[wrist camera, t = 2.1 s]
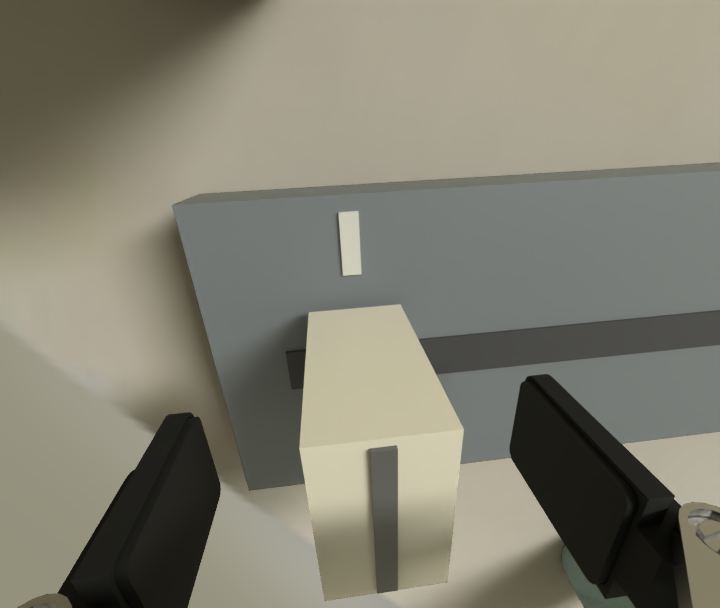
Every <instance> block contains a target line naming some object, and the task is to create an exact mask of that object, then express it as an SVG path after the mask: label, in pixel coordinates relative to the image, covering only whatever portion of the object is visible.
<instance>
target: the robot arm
mask: <svg viewBox="0 0 720 608" xmlns="http://www.w3.org/2000/svg"><path fill="white" fill-rule="evenodd" d="M509 450H510V455H511V458H512V460H513V462H514V463H515V465H516V467H517V468H518V470H519V472H520V473H521V475H522V476H523V478H524V480H525V481H526V483H527V484H528V486H529V488H530V489H531V491H532V492H533V494H534V496H535V497H536V499H537V500H538V502H539V504H540V505H541V507H542V508H543V510H544V512H545V513H546V515H547V516H548V518H549V520H550V521H551V523H552V524H553V526H554V528H555V529H556V531H557V533H558V534H559V536H560V537H561V539H562V541H563V542H564V544H565V545H566V547H567V549H568V550H569V552H570V553H571V555H572V557H573V558H574V560H575V561H576V563H577V565H578V566H579V568H580V569H581V571H582V573H583V574H584V576H585V577H586V579H587V580H588V581H589V582H590V583H592V584H596V586H597V587H598V589H599V590H600V592H601V593H602V595H603V597H604V598H605V599H610V598H616V597H622V596H628V598H629V599H630V601H631V602H632V604H633V605H634V606H635V608H720V508H719V507H717V506H713V505H710V504H706V503H698V502H691V503H687V504H684V505H683V506H681V505H679V504H678V503H677V502H676V501H675V500H674V497H675V496H674V495H673V494H672V493H671V492H670V491H669V490H668V489H667V488H666V487H665V486H664V485H663V484H662V483H661V482H660V481H659V480H658V479H657V478H656V477H655V476H654V475H653V474H652V473H651V472H650V471H649V470H648V469H647V468H646V467H645V466H644V465H643V464H642V463H640V462H639V461H638V460H637V459H636V458H635V457H634V456H633V455H632V454H631V453H630V452H629V451H628V450H627V449H626V448H625V447H624V446H623V445H622V444H621V443H620V442H619V441H618V440H617V439H616V438H615V437H614V436H613V435H612V434H611V433H610V432H609V431H608V430H606V429H605V428H604V427H603V426H602V425H601V424H600V423H599V422H598V421H597V420H596V419H595V418H594V417H593V416H592V415H591V414H590V413H589V412H588V411H587V410H586V409H585V408H584V407H583V406H582V405H581V404H580V403H579V402H578V401H577V400H576V399H575V398H573V397H572V396H571V395H570V394H569V393H568V392H567V391H566V390H565V389H564V388H563V387H562V386H561V385H560V384H559V383H558V382H557V381H556V380H555V379H554V378H553V377H552V376H550V375H549V374H542V375H532V376H527V378H526V379H525V381H524V382H522V383H521V385H520V390H519V396H518V401H517V407H516V413H515V418H514V424H513V430H512V435H511V441H510V447H509ZM219 497H220V482H219V478H218V475H217V472H216V469H215V465H214V462H213V459H212V456H211V452H210V449H209V446H208V443H207V439H206V436H205V433H204V430H203V426H202V423H201V420H200V418H199V417H194V416H193V414H192V413H190V412H188V413H179V414H169V415H168V416H166V418H165V419H164V421H163V423H162V424H161V426H160V428H159V429H158V431H157V433H156V435H155V436H154V438H153V440H152V441H151V443H150V445H149V447H148V448H147V450H146V452H145V453H144V455H143V457H142V459H141V460H140V462H139V464H138V466H137V467H136V469H135V470H133V471H132V472H131V473H130V474H129V475H128V476H127V478H126V479H125V481H124V482H123V484H122V486H121V487H120V489H119V491H118V493H117V494H116V496H115V498H114V499H113V501H112V503H111V504H110V506H109V508H108V509H107V511H106V513H105V515H104V516H103V518H102V520H101V521H100V523H99V524H98V526H97V528H96V529H95V531H94V533H93V535H92V537H91V538H90V540H89V541H88V543H87V545H86V546H85V548H84V550H83V551H82V553H81V555H80V556H79V558H78V560H77V561H76V563H75V565H74V566H73V568H72V570H71V571H70V573H69V575H68V577H67V578H66V580H65V582H64V583H63V585H62V587H61V588H60V590H59V592H58V593H57V594H46V595H43V596H40V597H37V598H34V599H32V600H30V601H28V602H26V603H25V604H23V605H21V606H19V607H18V608H187V607H188V604H189V600H190V597H191V594H192V590H193V587H194V583H195V580H196V576H197V573H198V570H199V566H200V563H201V559H202V556H203V552H204V549H205V546H206V542H207V539H208V535H209V531H210V528H211V525H212V521H213V518H214V515H215V511H216V508H217V504H218V501H219Z"/></svg>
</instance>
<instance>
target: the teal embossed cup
mask: <svg viewBox="0 0 720 608" xmlns="http://www.w3.org/2000/svg"><path fill="white" fill-rule="evenodd" d="M562 565H563V569H564V571H565V573H566V575H567V577H568V579H569V581H570V583H571V585H572V586H573V588H574V590H575V591H576V593H577V596H578V598H579V600H580V601H581V603H582V605H583V607H584V608H635V606H634V605H633V604H632V602H631V601H630V599H629V598H628V596H622V597H616V598H610V599H605V598H604V597H603V595H602V593H601V592H600V590H599V589H598V587H597V586H596V584H592V583H590V582H589V581H588V580H587V579H586V577H585V576H584V574H583V573H582V571H581V569H580V568H579V566H578V565H577V563H576V561H575V560H574V558H573V557H572V555H571V553H570V552H569V550H568V549H567V547H566V546H565V547H563V551H562Z"/></svg>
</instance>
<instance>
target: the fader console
mask: <svg viewBox="0 0 720 608" xmlns="http://www.w3.org/2000/svg"><path fill="white" fill-rule="evenodd" d="M172 208H173V211H174V215H175V219H176V222H177V226H178V230H179V233H180V237H181V241H182V244H183V248H184V252H185V256H186V259H187V263H188V267H189V270H190V274H191V278H192V281H193V285H194V289H195V292H196V296H197V300H198V304H199V307H200V311H201V315H202V318H203V322H204V326H205V329H206V333H207V337H208V340H209V344H210V348H211V351H212V355H213V359H214V363H215V366H216V370H217V374H218V377H219V381H220V385H221V388H222V392H223V396H224V399H225V403H226V407H227V411H228V414H229V418H230V422H231V425H232V429H233V433H234V436H235V440H236V444H237V447H238V451H239V455H240V459H241V462H242V466H243V470H244V473H245V477H246V481H247V484H248V488H249V491H250V490H257V489H265V488H273V487H281V486H289V485H297V484H305V480H304V474H303V468H302V462H301V456H300V450H299V446H300V431H301V417H302V402H303V388H304V373H305V358H306V344H307V329H308V315H309V312H318V311H329V310H341V309H352V308H363V307H375V306H386V305H398V304H401V306H402V308H403V310H404V312H405V314H406V316H407V318H408V320H409V322H410V324H411V326H412V328H413V330H414V332H415V334H416V336H417V338H418V340H419V342H420V344H421V346H422V348H423V350H424V352H425V353H426V355H427V357H428V359H429V361H430V363H431V365H432V367H433V369H434V371H435V373H436V375H437V377H438V379H439V381H440V383H441V385H442V387H443V389H444V391H445V393H446V395H447V397H448V399H449V401H450V403H451V405H452V407H453V409H454V411H455V413H456V415H457V416H458V418H459V420H460V422H461V424H462V426H463V428H464V433H463V443H462V452H461V461H460V464H465V463H473V462H481V461H489V460H497V459H505V458H511V455H510V450H509V447H510V441H511V435H512V430H513V424H514V418H515V413H516V407H517V401H518V396H519V390H520V385H521V383H522V382H524V381H525V379H526V378H527V376H532V375H542V374H549V375H550V376H552V377H553V378H554V379H555V380H556V381H557V382H558V383H559V384H560V385H561V386H562V387H563V388H564V389H565V390H566V391H567V392H568V393H569V394H570V395H571V396H572V397H573V398H575V399H576V400H577V401H578V402H579V403H580V404H581V405H582V406H583V407H584V408H585V409H586V410H587V411H588V412H589V413H590V414H591V415H592V416H593V417H594V418H595V419H596V420H597V421H598V422H599V423H600V424H601V425H602V426H603V427H604V428H605V429H606V430H608V431H609V432H610V433H611V434H612V435H613V436H614V437H615V438H616V439H617V440H618V441H619V442H620V443H621V444H625V443H632V442H640V441H648V440H656V439H664V438H672V437H680V436H688V435H696V434H704V433H712V432H720V163H706V164H689V165H673V166H656V167H640V168H623V169H606V170H590V171H573V172H557V173H540V174H523V175H507V176H490V177H474V178H457V179H440V180H424V181H407V182H391V183H374V184H358V185H341V186H324V187H308V188H291V189H275V190H258V191H241V192H225V193H208V194H199V195H196V196H194V197H191V198H189V199H186V200H184V201H181V202H178V203H176V204H173V205H172Z"/></svg>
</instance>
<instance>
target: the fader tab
mask: <svg viewBox="0 0 720 608" xmlns="http://www.w3.org/2000/svg"><path fill="white" fill-rule="evenodd" d="M463 433H464V428H463V426H462V424H461V422H460V420H459V418H458V416H457V415H456V413H455V411H454V409H453V407H452V405H451V403H450V401H449V399H448V397H447V395H446V393H445V391H444V389H443V387H442V385H441V383H440V381H439V379H438V377H437V375H436V373H435V371H434V369H433V367H432V365H431V363H430V361H429V359H428V357H427V355H426V353H425V352H424V350H423V348H422V346H421V344H420V342H419V340H418V338H417V336H416V334H415V332H414V330H413V328H412V326H411V324H410V322H409V320H408V318H407V316H406V314H405V312H404V310H403V308H402V306H401V304H398V305H386V306H375V307H363V308H352V309H341V310H329V311H318V312H309V315H308V329H307V344H306V358H305V373H304V388H303V402H302V417H301V431H300V446H299V450H300V456H301V462H302V468H303V474H304V480H305V486H306V492H307V498H308V504H309V510H310V516H311V522H312V528H313V534H314V540H315V546H316V552H317V558H318V564H319V569H320V576H321V581H322V588H323V593H324V599H325V601H328V600H335V599H341V598H348V597H355V596H361V595H368V594H374V593H384V592H390V591H397V590H401V589H407V588H414V587H421V586H427V585H434V584H440V583H447V581H448V571H449V562H450V553H451V544H452V535H453V525H454V516H455V507H456V498H457V489H458V479H459V470H460V461H461V452H462V443H463Z"/></svg>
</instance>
